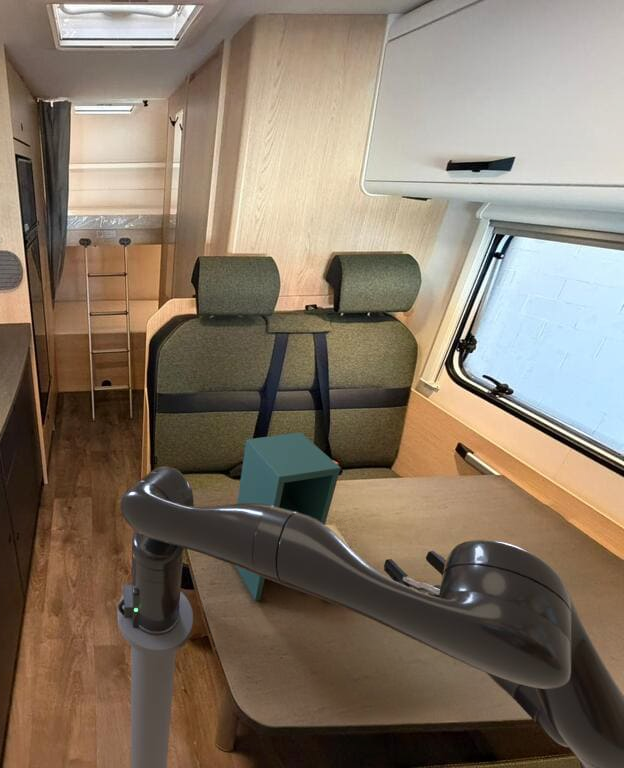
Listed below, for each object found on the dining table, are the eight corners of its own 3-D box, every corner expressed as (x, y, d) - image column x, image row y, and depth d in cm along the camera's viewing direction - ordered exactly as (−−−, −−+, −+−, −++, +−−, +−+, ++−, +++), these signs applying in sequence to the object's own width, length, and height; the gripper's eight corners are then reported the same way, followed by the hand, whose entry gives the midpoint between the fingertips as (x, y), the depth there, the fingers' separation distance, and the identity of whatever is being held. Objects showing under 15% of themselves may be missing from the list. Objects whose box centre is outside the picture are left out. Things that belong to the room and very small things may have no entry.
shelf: (229, 555, 97) (246, 439, 83) (276, 546, 99) (300, 432, 85) (255, 601, 87) (279, 477, 73) (307, 590, 89) (340, 467, 75)
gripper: (554, 623, 59) (449, 536, 73) (469, 644, 56) (378, 549, 70) (531, 655, 62) (435, 566, 76) (450, 676, 59) (366, 580, 74)
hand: (407, 558), depth 73 cm, fingers open, 8 cm apart
